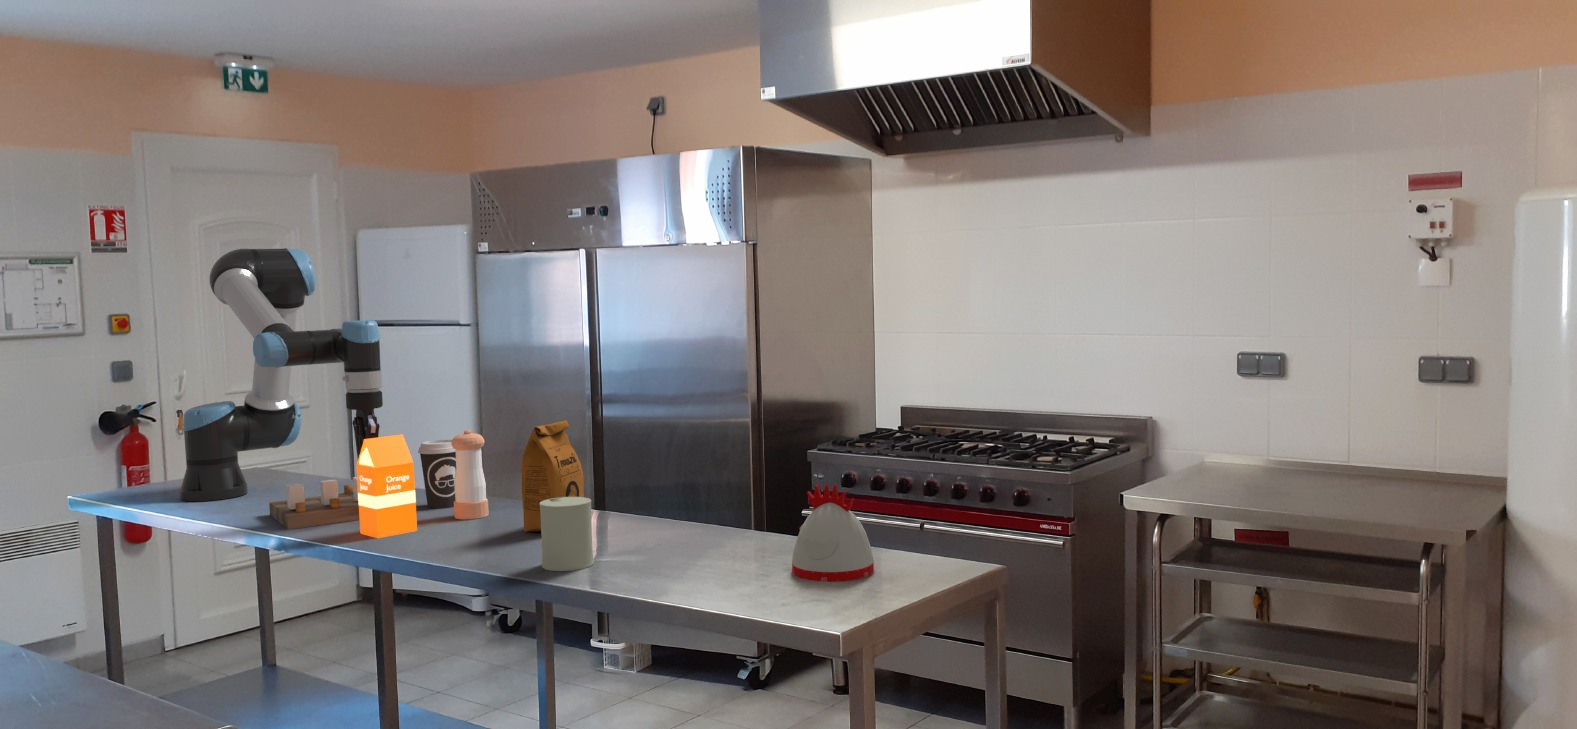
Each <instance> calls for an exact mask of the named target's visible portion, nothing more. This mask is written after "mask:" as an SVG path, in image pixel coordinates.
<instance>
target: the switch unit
mask: <svg viewBox="0 0 1577 729" xmlns="http://www.w3.org/2000/svg"><path fill="white" fill-rule="evenodd" d="M343 490H344V491H343V492H342V493H338V498H332V499H329V502H330V505H323V504H322V503H321V495H317V496H311V497H310V496H309V497H305V502H300V503H295V509H293V510H290V509H289V508H288V503H287V499H286V500H279V501H272V502H271V501H270V502H268V504H269V505H268V506H269V516H270V517H271V518H273V519H274V520H275V521H276V522H278V523H279V524H280V525H281V526H283V527H285V528H286V530H293V529H294V530H295V529H303V528H309V527H315V526H316V527H317V526H322V525H330V524H331V525H332V524H337V523H346V522H352V521H360V516H359V504H358V501H356V500H355V499H354V491H353V484H344V485H343Z"/></svg>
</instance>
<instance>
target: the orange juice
mask: <svg viewBox="0 0 1577 729" xmlns="http://www.w3.org/2000/svg"><path fill="white" fill-rule="evenodd" d="M357 460H358V461H357V462H356V477H357V481H358V504H359V516H360V520H359V530H360V532H359V533H360V534H361V535H365V536H369V537H371V538H375V539H381V538H386V537H391V536H397V535H402V534H407V533H412V532H417V531H418V524H417V523H418V522H417V521H418V520H417V505H416V504H417V499H416V498H417V496H416V485H415V484H416V483H415V467H414V466H415V464H414V461H413V457H412V455H411V452H410V450H409V448H408V444H407V442H406V440H405V437H404V434H396V435H388V436H386V435H385V436H380V437H379V436H378V438H370V439H364V442H363V445H362V449H361V452H360V456H359V459H358V458H357Z"/></svg>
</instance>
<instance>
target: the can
mask: <svg viewBox="0 0 1577 729" xmlns="http://www.w3.org/2000/svg"><path fill="white" fill-rule="evenodd" d="M539 505H540V516H541V532H540V533H541V535H540V536H541V556H542V558H541V559H542V562H541V568H542V569H543V570H545V571H551V572H572V571H579V570H585V569H587V568H589V567H591V566H593V565H594V564H595V560H594V550H593V525H592V499H590V498H589V497H585V496H584V497H559V498H552V499H547V500H544V501H541V502H540V503H539Z"/></svg>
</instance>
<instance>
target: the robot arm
mask: <svg viewBox="0 0 1577 729" xmlns="http://www.w3.org/2000/svg"><path fill="white" fill-rule="evenodd" d="M209 285H210V290H211V291H212V293H213V295H214V296H215V297H216V298H217V299H218V301H220V303H222V304H224V305H227V306H229V308H230V310H231V311H233V313H234V315H235V316H236V317H237V319H238V320H239V321H240V323H241V324H242V325H243V326H244V327H245V329H246V330H247V332H248V333H249V334H250V336H251V337H252V338H253V342H252V354H253V357H254V363H253V365H254V366H253V373H252V374H253V375H252V376H253V377H252V386H251V391H250V392H248V393H247V394H246V395H245V397H244V402H243V405H236V404H235V402H234V401H231V400H225V401H215V402H212V403H206V404H202V405H197V406H194V407H191V408H188V409H187V410H186V411H184V414H183V425H182V426H183V427H182V430H183V435H184V438H183V439H184V448H185V449H184V450H185V465H186V469H185V473H184V476H183V480H182V482H181V486H180V490H179V491H180V492H179V493H180V494H179V495H180V496H179V497H180V500H181V501H184V502H185V501H186V502H205V501H206V502H208V501H218V500H226V499H227V500H228V499H232V498H237V497H240V496H241V497H242V496H244V495H247V494H248V490H249V488H248V483H247V481H246V479H245V476H244V473H243V471H242V469H241V467H240V465H239V457H238V454H239V452H246V451H247V452H248V451H255V450H263V449H277V448H280V447H285V446H286V447H287V446H289V445H292V444H293V443H294V442H295V441H297V439H298V436H299V434H300V433H301V432H300V431H301V428H302V427H301V426H302V418H301V415H302V413H301V410H300V409H301V408H300V406H299V404H298V403H297V402H296V401H295V398H294V397H293V396H292V395H291V394H290V393H289V391H290V383H291V382H290V381H291V380H290V379H291V371H292V367H295V366H306V365H307V366H308V365H309V366H310V365H322V364H327V365H328V364H336V363H337V364H341V363H342V364H343V369H344V375H345V376H342V381H343V382H345V384H344V385H345V390H347V391H348V392H346V393H345V406H346V409H348V410H352V411H355V416H354V417H353V420H352V422H351V423H352V427H353V431H354V432H353V433H354V440H355V448H356V449H355V450H356V456H357V462H358V459H359V456H360V452H361V449H362V445H363V442H364V439H370V438H378V437H379V433H380V424H379V423H378V419H377V418H378V417H377V416H376V415H375V409H380V408H382V407H383V404H384V402H383V391H381V390H380V389H382V387H383V380H382V377H383V376H382V369H381V349H380V348H381V346H380V345H381V344H380V338H381V337H380V332H379V325H378V322H377V321H375V320H373V319H372V320H371V319H369V320H366V319H365V320H345V321H344V322H343V323H342V325H341V328H331V329H318V330H317V329H316V330H297V331H295V330H296V322H297V321H296V320H297V314H298V312H297V311H298V310H299V309H300V308H302V307H303V306H304V305H305V297H309V296H311V295H313V294H314V292H315V290H316V273H315V269H314V265H313V262H312V261H311V258H310V256H309V255H308V254H307V253H306V252H305V251H304V250H301V249H297V248H296V249H295V248H286V247H285V248H236V249H233V250H230V251H228V252H227V253H225V254H223V255H222V256H221V257H219V258H218V260H216V261H215V263H214V264H213V266H212V267H211V270H210V273H209Z"/></svg>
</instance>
